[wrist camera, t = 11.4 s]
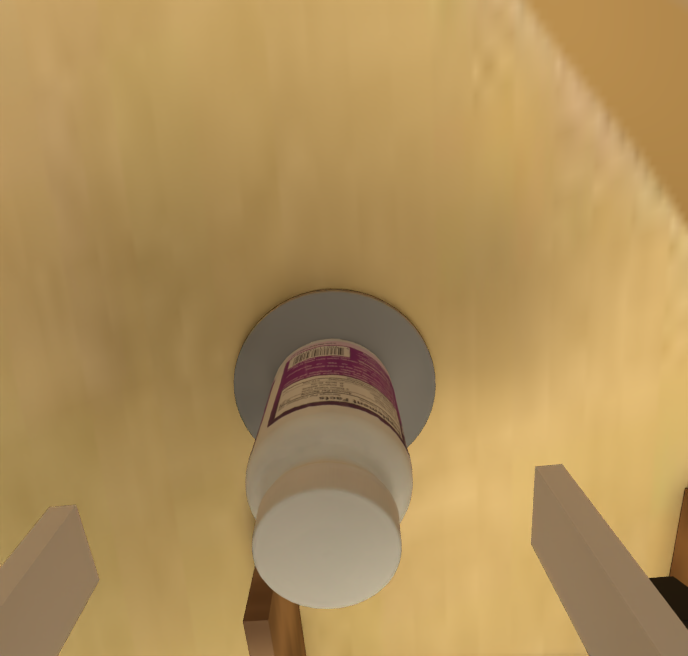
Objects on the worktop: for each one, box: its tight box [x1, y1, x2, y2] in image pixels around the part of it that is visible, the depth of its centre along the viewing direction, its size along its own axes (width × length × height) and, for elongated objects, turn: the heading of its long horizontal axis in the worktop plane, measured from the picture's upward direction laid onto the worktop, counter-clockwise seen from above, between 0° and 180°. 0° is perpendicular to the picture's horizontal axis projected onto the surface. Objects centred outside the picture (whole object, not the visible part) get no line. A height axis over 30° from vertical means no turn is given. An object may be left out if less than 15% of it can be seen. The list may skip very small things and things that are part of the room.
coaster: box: [234, 289, 436, 447], centre depth 22 cm, size 9×9×1 cm
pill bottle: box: [245, 339, 413, 609], centre depth 17 cm, size 5×5×10 cm
